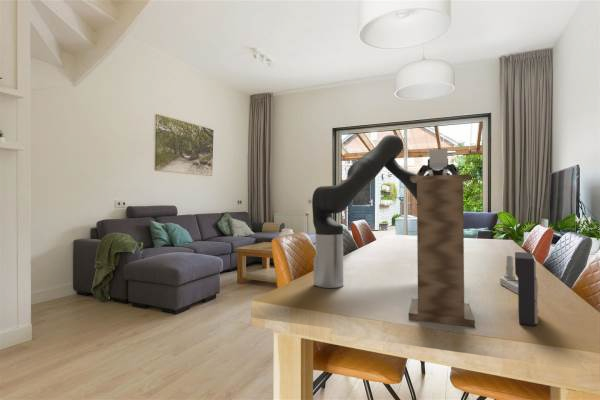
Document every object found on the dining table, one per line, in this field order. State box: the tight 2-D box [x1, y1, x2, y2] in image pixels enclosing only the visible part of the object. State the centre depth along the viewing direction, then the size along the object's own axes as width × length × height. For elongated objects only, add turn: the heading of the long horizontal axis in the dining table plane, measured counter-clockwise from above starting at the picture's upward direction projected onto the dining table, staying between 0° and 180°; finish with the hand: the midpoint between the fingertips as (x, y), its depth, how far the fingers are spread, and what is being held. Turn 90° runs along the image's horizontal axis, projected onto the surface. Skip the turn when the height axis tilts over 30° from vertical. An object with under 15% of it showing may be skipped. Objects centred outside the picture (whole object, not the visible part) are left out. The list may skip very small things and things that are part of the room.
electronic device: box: [499, 255, 518, 295], centre depth 108 cm, size 5×10×15 cm
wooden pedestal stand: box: [408, 173, 476, 328], centre depth 84 cm, size 14×14×34 cm
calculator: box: [514, 251, 539, 327], centre depth 81 cm, size 11×4×15 cm, turn 148°
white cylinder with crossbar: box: [428, 148, 448, 170], centre depth 100 cm, size 21×4×4 cm, turn 158°
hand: (437, 159), depth 104 cm, fingers closed on white cylinder with crossbar, 3 cm apart
